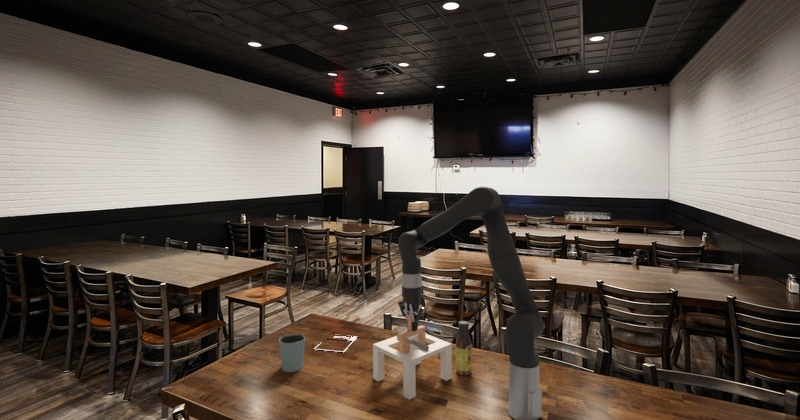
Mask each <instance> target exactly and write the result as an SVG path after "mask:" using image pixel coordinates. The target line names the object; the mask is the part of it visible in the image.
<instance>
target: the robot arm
mask: <svg viewBox="0 0 800 420" xmlns="http://www.w3.org/2000/svg"><path fill="white" fill-rule="evenodd" d="M478 215H480V216H481V219H482V222H483V224H484V225H483V226H484V227H485V230H486V238H487V239H486V241H487V243H486V244H487V256H488V259H489V262H490V266H491V268H492V272H493V274H494V276H495V279H496V280H497V281H498V283H499V284H500V285H501V286H502V288H504V290H505V291H506V292H507V293H508V295H509V297H510V299H511V302H512V305H513V308H514V312H515V313H514V314H512V315H511V316H510V317H509V318H508V319H507V321H506V324H505V325H506V327H505V341H506V343H505V344H506V345H505V346H506V352H507V355H508V415H509V416H510V417H511V418H513V420H539V419H540V418H541V417H542V413H543V412H542V409H543V408H542V407H543V406H542V405H543V404H542V401H543V399H542V398H543V395H542V394H543V388H542V387H541V386H540V355H539V353H538V352H537V351H535V340H536V339H537V338H539V337H540V336H541V335H543V332H544V329H545V328H544V327H545V326H544V325H545V324H544V321H543V317H542V314H541V312H540V309H539V308H538V306H537V304H536V302H535V300H534V297H533V295H532V292H531V289H530V287H529V283H528V280H527V278H526V276H525V273H524V268H523V266H522V263H521V259H520V257H519V254H518V251H517V248H516V246H515V243H514V241H513V240H514V239H513V238H512V234H511V232H510V229H509V227H508V225H507V220H506V216H505V212H504V207H503V203H502V200H501V196H500V194H499V193H498V191H497V190H496V189H494V188H493V187H489V186H478V187H475V188H474V189H472V190H471V191H469V192H468V193H467V194H466V195H465V196H463V197H462V198H461V199H460V200H459V201H457V202H456V203H454V204H453V205H451V206H450V207H449V208H447V209H445V210H444V211H442V212H441V213H439V214H436V215H435V216H433V217H432V218H430V219H428V220H426V221H425V222H423V223H421V225H420V226H418V227H417V228H415V229H413V230H410V231H407V232H406V231H405V232H403V233H401V235H400V236H399V238H398V251H399V254H400V258H401V264H402V265H401V269H402V270H401V272H402V273H401V297H402V300H399V301H398V302H397V303H398V306H399V309H400V312H401V315H402V317H403V318H405V320H406V321H407V314H411V316H412V331H417V329H418V326H419V321H422V320H423V318H424V317H425V314H426V311H427V307H426V306H423V305H422V301H421V298H422V297H423V284H422V283H423V281H422V279H423V277H422V263H421V262H422V261H421V259H420V257H419V256H418V255H417V250H418V249H420V248H422V247H424V246H425V245H427V244H428V243H430V242H431V241H433V240H435V239H437V238H439V237H441V236H444V235H445V234H446V233H448V232H450V231H451V230H452V229H454V227H455V226H457V225H458V224H460V223H461V222H463V221H465V220H467V219H469V218H472V217H475V216H478ZM415 316H416V318H415ZM406 329H407V330H408V325H407V324H406Z"/></svg>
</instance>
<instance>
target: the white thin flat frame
mask: <svg viewBox="0 0 800 420" xmlns="http://www.w3.org/2000/svg"><path fill="white" fill-rule="evenodd" d="M350 336H351V338H350V337H346V336H334V337H333V338H343V339H347V340H348V341H347V342H350V341H352V342H350V344H348V346H346V348H345V349H344V350H332V349H324V348H319V347H320V346H321V345H322V344H321V342H319V343H320V344H321V345H320V344H319V343H318V344H317V345H316V346H314V348H313V349H315V350H314V351H317V350H324V351H323V352H327V351H334V352H333V353H337V352H343V353H342V354H345V353H346V352H347V351H348V349H349V348H350V347H351V346H352V345H353V344H354V343H355V342H356V341H357V340H358V338H359V336H357V335H356V336H355V335H350ZM352 336H353V337H352ZM357 337H358V338H357ZM349 338H350V339H349ZM354 341H355V342H354ZM353 342H354V343H353ZM352 343H353V344H352ZM351 344H352V345H351ZM319 345H320V346H319ZM350 345H351V346H350ZM318 346H319V347H318ZM349 346H350V347H349ZM317 347H318V348H317ZM348 347H349V348H348ZM316 348H317V349H316ZM344 352H345V353H344Z"/></svg>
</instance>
